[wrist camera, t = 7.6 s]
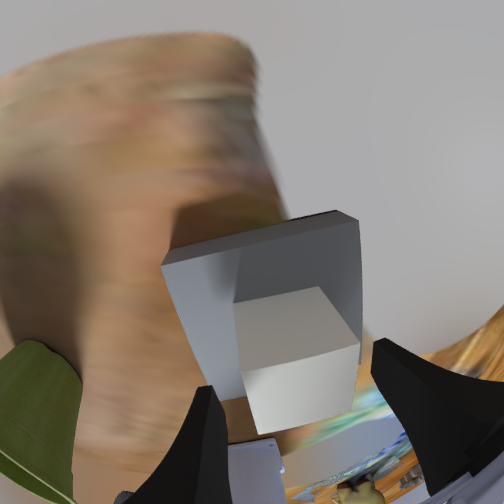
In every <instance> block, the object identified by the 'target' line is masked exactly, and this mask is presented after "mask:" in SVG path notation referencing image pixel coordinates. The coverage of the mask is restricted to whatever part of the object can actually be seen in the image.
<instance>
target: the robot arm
mask: <svg viewBox="0 0 504 504" xmlns="http://www.w3.org/2000/svg"><path fill="white" fill-rule="evenodd" d="M371 375H372V377H373V379H374V381H375V383H376V385H377V387H378V389H379V391H380V392H381V394H382V395H383V397H384V398H385V400H386V401H387V403H388V404H389V406H390V407H391V409H392V410H393V412H394V413H395V415H396V416H397V418H398V419H399V421H400V422H401V424H402V426H403V428H404V429H405V431H406V433H407V436H408V438H409V440H410V442H411V444H412V446H413V449H414V451H415V454H416V456H417V459H418V461H419V464H420V467H421V470H422V473H423V476H424V479H425V483H426V486H427V491H428V493H429V495H430V496H431V497H430V498H429V499H427V500H425V501H424V502H422V503H420V504H443V503H445V502H446V501H447V503H446V504H502V503H503V502H504V382H497V381H488V380H482V379H477V378H472V377H468V376H464V375H461V374H458V373H455V372H452V371H449V370H446V369H444V368H441V367H439V366H437V365H435V364H433V363H430V362H428V361H426V360H424V359H422V358H420V357H419V356H417V355H415V354H413V353H411V352H409V351H407V350H406V349H404V348H402V347H401V346H399V345H397V344H395V343H394V342H392V341H390V340H389V339H387V338H382V339H380V340H377V341H375V342H374V343H373V354H372V364H371ZM283 472H285V468H284V465H283V462H282V459H281V455H280V452H279V449H278V446H277V442H276V439H274V438H268V439H263V440H258V441H253V442H247V443H241V444H234V445H228V431H227V424H226V417H225V412H224V410H223V407H222V405H221V403H220V401H219V399H218V397H217V394H216V392H215V390H214V388H213V386H212V385H209V386H202V387H198V388H197V390H196V393H195V396H194V399H193V401H192V404H191V406H190V409H189V411H188V414H187V416H186V418H185V420H184V423H183V425H182V427H181V429H180V431H179V433H178V435H177V437H176V439H175V440H174V442H173V444H172V446H171V448H170V449H169V451H168V452H167V454H166V456H165V457H164V459H163V460H162V461H161V463H160V464H159V465H158V467H157V468H156V469H155V471H154V472H153V473H152V474H151V476H150V477H149V478H148V479H147V480H146V481H145V482H144V483H143V484H142V485H141V486H140V488H139V489H138V490H137V491H136V492H135V493H133V494H132V495H131V496H130V497H129V498H128V499H126V500H125V501H124V502H123V503H122V504H288V503H287V499H286V495H285V491H284V486H283V482H282V478H281V473H283Z"/></svg>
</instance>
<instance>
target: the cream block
mask: <svg viewBox="0 0 504 504" xmlns="http://www.w3.org/2000/svg"><path fill="white" fill-rule="evenodd" d="M233 312H234V321H235V330H236V338H237V347H238V355H239V363H240V371H241V375H242V379H243V383H244V386H245V390H246V393H247V397H248V401H249V404H250V408H251V411H252V415H253V418H254V421H255V425H256V428H257V432H258V435H260V434H265V433H271V432H276V431H280V430H285V429H290V428H294V427H298V426H302V425H306V424H310V423H314V422H317V421H321V420H324V419H328V418H331V417H334V416H337V415H340V414H344V413H347V412H350V411H351V409H352V403H353V397H354V391H355V384H356V377H357V369H358V361H359V352H360V342H359V340H358V339H357V338H356V336H355V335H354V333H353V332H352V331H351V329H350V328H349V326H348V325H347V324H346V322H345V321H344V320H343V318H342V317H341V316H340V314H339V313H338V311H337V310H336V309H335V307H334V306H333V305H332V303H331V302H330V301H329V299H328V298H327V297H326V295H325V294H324V293H323V291H322V290H321V289H320V287H319V286H316V287H311V288H307V289H302V290H298V291H293V292H288V293H284V294H279V295H274V296H269V297H264V298H259V299H254V300H249V301H243V302H238V303H233Z"/></svg>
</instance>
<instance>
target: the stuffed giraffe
mask: <svg viewBox="0 0 504 504" xmlns="http://www.w3.org/2000/svg"><path fill="white" fill-rule="evenodd" d="M383 450H385V448H384V449H382V450H381V451H380V452H382V451H383ZM380 452H378V453H376V454H374V455H369V456H368V457H365V458H364V459H362V460H360V461H359V462H357V463H355V464H354V465H353V466H351V467H349V468H348V469H347V470H345V471H343V472H341V473H339V474H337V475H334V476H332V477H335V476H336V477H335V478H334V479H331V480H329V481H326V486H328V484H327V483H328V482H329V483H331V482H332V481H334V483H335V482H336V481H337V482H339V480H341V479H342V478H343V477H344V473H347V472H349V471H352V470H354V469H355V468H357V467H359V466H360V465H362V464H363V463H364V462H366V461H367V460H369V459H370V458H371V460H372V459H373V458H374V457H376V456H377V455H378V454H379V453H380ZM394 458H395V456H394V457H392V459H394ZM388 459H389V457H388V458H385V459H383V460H381V461H380V462H378V463H377V464H375V465H374V466H373V467H372V466H371V467H370V468H366V466H367V463H368V462H369V461H370V460H369V461H368V462H367V463H366V464H364V465H363V466H362V467H361V468H359V469H358V470H357V471H356V470H355V471H356V472H354V471H353V472H354V473H353V472H351V473H353V474H352V475H351V476H353V475H354V474H356V473H358V472H359V473H358V474H359V475H358V474H356V475H358V476H357V477H355V478H353V479H352V480H351V481H348V482H344V483H341V484H339V485H338V487H337V493H336V492H335V494H334V495H338V497H336V498H331V500H332V501H334V502H335V503H336V504H385V499H384V496H383V494H382V493H381V492H380V491H378V490H376V489H375V484H374V482H375V481H376V480H379V479H381V478H383V477H384V476H385V475H387V474H389V473H390V472H391V471H393V470H394V469H396V468H397V467H399V466H400V465H401V464H403V462H402V463H400V464H399V465H397V466H396V467H393V468H391V469H390V467H392V466H393V465H394V464H396V463H397V462H399V461H400V460H399V459H398V458H395V459H394V460H392V459H390V460H388ZM390 461H391V462H390ZM388 462H389V463H388ZM382 463H384V464H386V465H385V466H384V467H383V468H381V469H379V471H377V472H375V473H374V474H372V475H371V474H370V473H369V472H371V471H372V470H374V469H375V468H376V467H378V466H379V465H381V464H382ZM384 464H382V465H384ZM382 465H381V466H382ZM379 467H380V466H379ZM364 468H366V469H365V470H363V469H364ZM388 468H389V469H388ZM367 469H368V470H367ZM361 470H362V471H361ZM360 471H361V472H360ZM338 475H340V476H338ZM351 476H349V477H351ZM332 477H330V478H332ZM337 478H339V479H337ZM328 479H329V478H328ZM324 481H325V480H324ZM324 481H322V482H320V483H317V484H315V485H313V486H310V487H307V489H306V490H305V491H302V492H301V493H299V494H298V495H296V496H294V497H291V499H294V500H300V499H301V500H302V499H303V500H302V501H305V502H313V501H314V500H313V499H314V498H316V497H315V496H316V495H314V494H313V495H312V494H309V493H310V492H311V491H314V490H313V489H315V488H316V487H315V486H316V485H317V487H318V486H320V485H324V483H325V482H324ZM334 483H331V484H330V485H332V484H334ZM314 487H315V488H314ZM321 487H322V486H321ZM319 492H320V491H319ZM307 494H308V495H307ZM318 494H319V493H317V495H318ZM306 495H307V496H306ZM310 495H311V496H310ZM334 495H332V496H334ZM305 496H306V497H308V496H310V497H308V498H306V497H305ZM330 497H331V496H330ZM299 498H300V499H299ZM304 498H305V499H304ZM337 498H339V501H338V502H337V501H336V500H335V499H337Z"/></svg>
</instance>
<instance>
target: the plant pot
mask: <svg viewBox="0 0 504 504" xmlns="http://www.w3.org/2000/svg"><path fill="white" fill-rule="evenodd" d="M81 398H82V384H81V381H80V379H79V377H78V375H77V374H76V372H75V371H74V369H73V368H72V367H71V366H70V364H69V363H68V362H67V361H66V360H65V359H64V358H63V357H61V356H60V355H59V354H56V353H54V352H52V351H50V350H49V349H48V348H47V347H46V346H45V345H44V344H42V343H40V342H37V341H33V340H25V341H23V342H21V343H20V344H18V345H17V346H16V347H15V348H14V349H12V350H11V351H10V352H9V353H7V354H6V355H5V356H4V357H3V358H2V359H1V360H0V473H1V474H2V475H3V476H5V477H6V478H8V479H9V480H11V481H12V482H14V483H15V484H17V485H18V486H20V487H22V488H23V489H25V490H27V491H28V492H30V493H32V494H34V495H36V496H38V497H40V498H42V499H44V500H46V501H49V502H51V503H53V504H77V503H76V501H74V499H73V474H72V472H71V466H72V455H73V446H74V438H75V431H76V425H77V419H78V413H79V408H80V403H81Z"/></svg>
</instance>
